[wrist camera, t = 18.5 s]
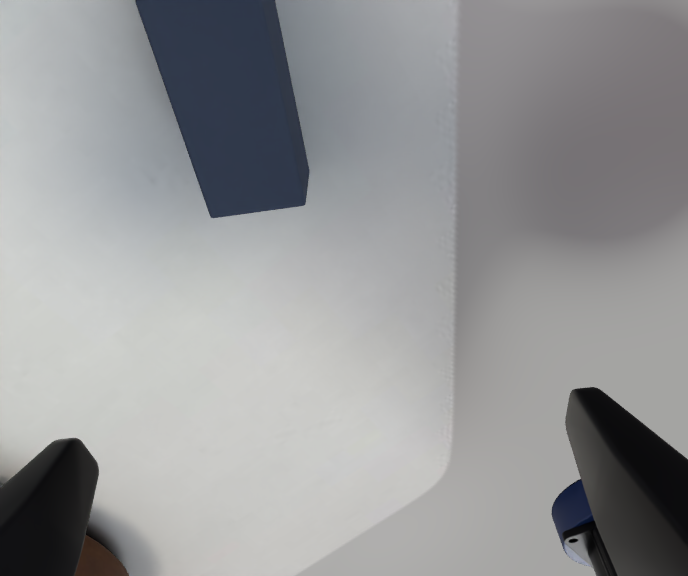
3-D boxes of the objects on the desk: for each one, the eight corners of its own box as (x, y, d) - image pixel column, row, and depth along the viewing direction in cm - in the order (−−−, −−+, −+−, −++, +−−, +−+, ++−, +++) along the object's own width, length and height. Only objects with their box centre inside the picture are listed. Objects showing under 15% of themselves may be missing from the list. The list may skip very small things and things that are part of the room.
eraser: (310, 172, 17) (306, 206, 15) (225, 184, 17) (210, 219, 15) (268, -33, 13) (256, -25, 11) (162, -14, 14) (132, -2, 12)
